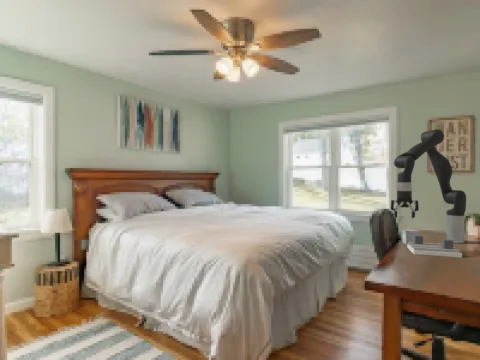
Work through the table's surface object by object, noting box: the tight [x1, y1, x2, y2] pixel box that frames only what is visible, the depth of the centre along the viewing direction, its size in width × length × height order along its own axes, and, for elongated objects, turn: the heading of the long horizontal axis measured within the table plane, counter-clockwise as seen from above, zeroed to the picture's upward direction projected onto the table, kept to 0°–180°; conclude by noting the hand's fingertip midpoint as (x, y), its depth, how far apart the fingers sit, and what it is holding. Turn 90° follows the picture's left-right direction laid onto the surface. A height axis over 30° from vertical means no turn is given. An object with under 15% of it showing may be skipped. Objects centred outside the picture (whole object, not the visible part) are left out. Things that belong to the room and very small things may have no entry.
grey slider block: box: [442, 238, 454, 249], centre depth 155 cm, size 3×4×6 cm
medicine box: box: [402, 229, 420, 245], centre depth 181 cm, size 8×4×9 cm, turn 84°
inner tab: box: [414, 234, 424, 244], centre depth 166 cm, size 3×4×6 cm
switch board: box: [406, 242, 463, 258], centre depth 160 cm, size 16×22×4 cm
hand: (404, 217), depth 168 cm, fingers open, 8 cm apart
